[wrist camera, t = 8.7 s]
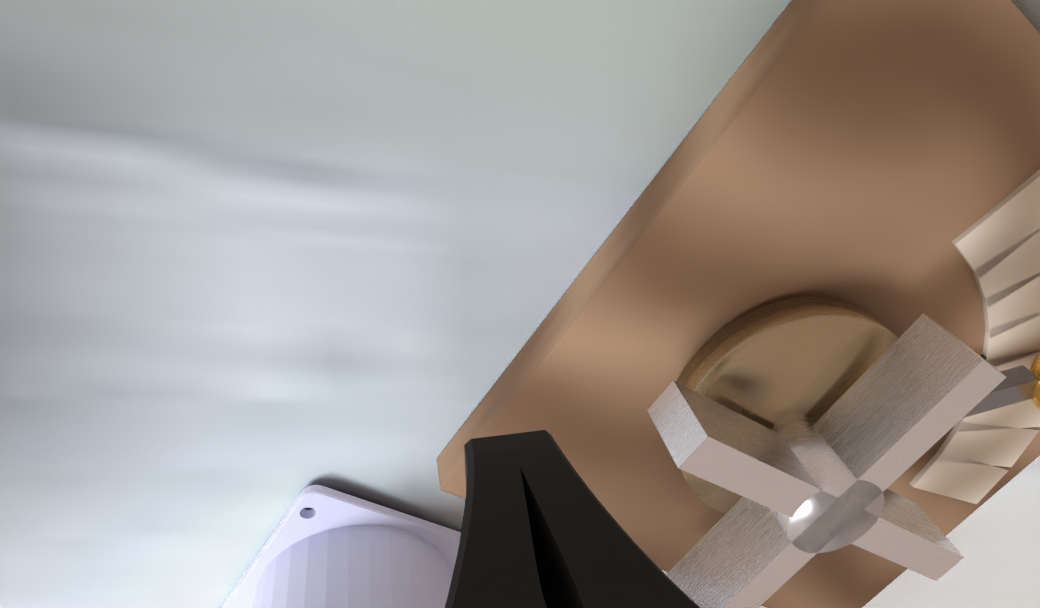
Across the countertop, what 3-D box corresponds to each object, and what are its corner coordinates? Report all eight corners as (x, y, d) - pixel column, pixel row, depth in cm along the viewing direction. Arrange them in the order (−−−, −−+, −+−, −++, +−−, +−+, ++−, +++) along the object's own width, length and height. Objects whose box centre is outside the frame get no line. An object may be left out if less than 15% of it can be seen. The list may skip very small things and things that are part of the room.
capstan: (807, 594, 31) (866, 689, 27) (529, 491, 24) (558, 597, 21) (1092, 336, 26) (1208, 411, 22) (835, 125, 20) (941, 182, 16)
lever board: (816, 603, 34) (835, 635, 33) (436, 458, 25) (441, 494, 24) (1207, 257, 27) (1254, 278, 26) (878, -112, 18) (922, -110, 17)
